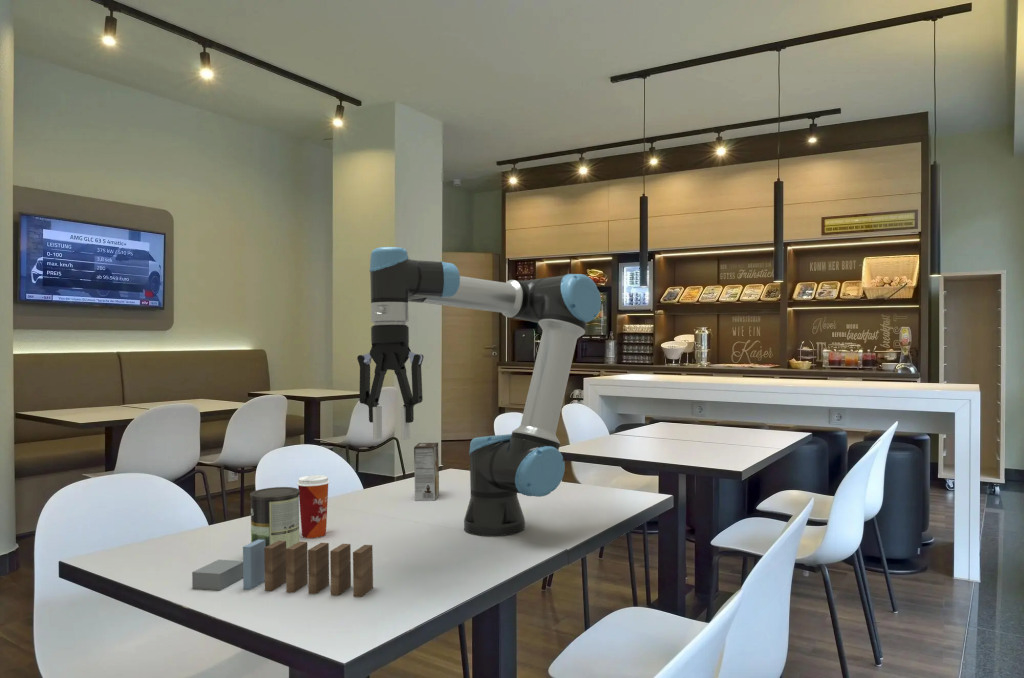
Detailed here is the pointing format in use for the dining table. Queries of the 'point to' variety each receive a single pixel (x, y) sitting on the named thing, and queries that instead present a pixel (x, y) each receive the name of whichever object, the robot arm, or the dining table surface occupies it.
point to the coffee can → (275, 515)
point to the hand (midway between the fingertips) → (391, 438)
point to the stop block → (217, 575)
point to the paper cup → (313, 505)
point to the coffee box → (426, 471)
